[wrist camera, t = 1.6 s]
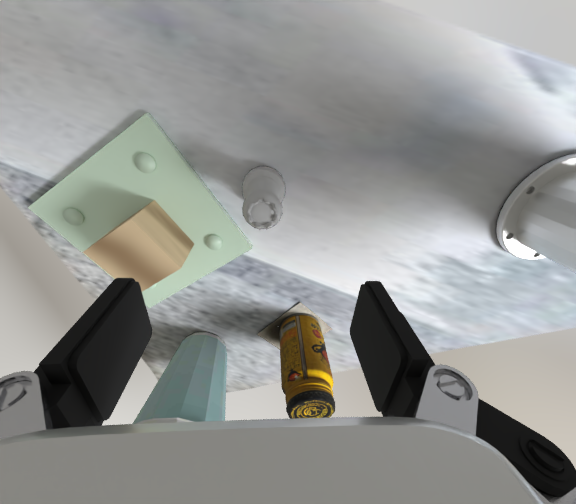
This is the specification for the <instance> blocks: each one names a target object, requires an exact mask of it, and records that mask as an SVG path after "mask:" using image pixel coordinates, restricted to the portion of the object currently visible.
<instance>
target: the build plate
mask: <svg viewBox="0 0 576 504" xmlns="http://www.w3.org/2000/svg"><path fill="white" fill-rule="evenodd" d="M154 200H155V201H156V202H157V203H158V204H159V205H160V207H161V208H162V209H163V210H164V211H165V212H166V213H167V214H168V215H169V216H170V217H171V219H172V220H173V221H174V222H175V223H176V224H177V225H178V226H179V227H180V228H181V229H182V231H183V232H184V233H185V234H186V235H187V236H188V237H189V238H190V239H191V240H192V241H193V243H194V246H193V248H192V249H191V251H190V253H189V255H188V257H187V259H186V260H185V262H184V264H183V266H182V268H181V269H179V270H177V271H176V272H174V273H172V274H171V275H169V276H167V277H166V278H164V279H162V280H161V281H159V282H157V283H156V284H154V285H152V286H151V287H149V288H147V289H146V290H144V291H143V292H142V294H143V298H144V302H145V305H146V306H147V307H148V308H151V307H152V306H154V305H156V304H157V303H159V302H161V301H163V300H164V299H166V298H168V297H169V296H171V295H173V294H175V293H176V292H178V291H180V290H182V289H183V288H185V287H187V286H188V285H190V284H192V283H194V282H195V281H197V280H199V279H201V278H202V277H204V276H206V275H207V274H209V273H211V272H213V271H214V270H216V269H218V268H219V267H221V266H223V265H225V264H226V263H228V262H230V261H232V260H233V259H235V258H237V257H238V256H240V255H242V254H244V253H245V252H247V251H249V250H251V249H252V244H251V243H250V242H249V240H248V239H247V238H246V237H245V235H244V234H243V233H242V231H241V230H240V229H239V228H238V226H237V225H236V224H235V222H234V221H233V220H232V219H231V217H230V216H229V215H228V213H227V212H226V211H225V210H224V208H223V207H222V206H221V205H220V203H219V202H218V201H217V199H216V198H215V197H214V196H213V194H212V193H211V192H210V190H209V189H208V188H207V187H206V185H205V184H204V183H203V182H202V180H201V179H200V178H199V176H198V175H197V174H196V173H195V171H194V170H193V169H192V167H191V166H190V165H189V164H188V162H187V161H186V160H185V158H184V157H183V156H182V155H181V153H180V152H179V151H178V150H177V148H176V147H175V146H174V144H173V143H172V142H171V141H170V139H169V138H168V137H167V135H166V134H165V133H164V132H163V130H162V129H161V128H160V126H159V125H158V124H157V123H156V121H155V120H154V119H153V118H152V116H151V115H150V114H149V113H146V114H144V115H143V116H142V117H141V118H139V119H138V120H137V121H135V122H134V123H133V124H132V125H130V126H129V127H128V128H127V129H125V130H124V131H123V132H122V133H120V134H119V135H118V136H117V137H115V138H114V139H113V140H112V141H110V142H109V143H108V144H107V145H105V146H104V147H103V148H102V149H100V150H99V151H98V152H97V153H95V154H94V155H93V156H92V157H90V158H89V159H88V160H87V161H85V162H84V163H83V164H82V165H80V166H79V167H78V168H77V169H75V170H74V171H73V172H72V173H70V174H69V175H68V176H67V177H65V178H64V179H63V180H62V181H60V182H59V183H58V184H57V185H55V186H54V187H53V188H52V189H50V190H49V191H48V192H47V193H45V194H44V195H43V196H42V197H40V198H39V199H38V200H37V201H35V202H34V203H33V204H32V205H30V206H29V207H28V209H30V210H31V211H32V212H33V213H35V214H36V215H37V216H38V217H39V218H41V219H42V220H43V221H44V222H45V223H47V224H48V225H49V226H50V227H51V228H53V229H54V230H55V231H56V232H57V233H59V234H60V235H61V236H62V237H64V238H65V239H66V240H67V241H68V242H70V243H71V244H72V245H73V246H74V247H76V248H77V249H78V250H79V251H80V252H82V253H83V252H84V251H85V250H86V249H88V248H89V247H90V246H91V245H93V244H94V243H95V242H97V241H98V240H99V239H100V238H102V237H103V236H104V235H106V234H107V233H108V232H109V231H111V230H112V229H113V228H115V227H116V226H118V225H119V224H121V223H122V222H123V221H125V220H126V219H128V218H129V217H131V216H132V215H133V214H135V213H136V212H138V211H139V210H141V209H142V208H144V207H145V206H146V205H148V204H149V203H151V202H152V201H154ZM83 254H84V253H83ZM84 255H85V254H84ZM85 256H86V257H88V256H87V255H85ZM88 258H89V257H88ZM89 259H90V258H89ZM90 260H91V259H90ZM91 261H93V260H91ZM93 262H94V261H93ZM94 263H95V262H94ZM95 264H96V263H95ZM96 265H97V264H96ZM97 266H99V265H97ZM99 267H100V266H99ZM100 268H101V267H100ZM101 269H102V268H101ZM102 270H103V269H102ZM103 271H105V270H103ZM105 272H106V271H105ZM106 273H107V272H106ZM107 274H108V273H107ZM108 275H109V276H111V275H110V274H108ZM111 277H112V276H111ZM112 278H113V277H112ZM113 279H114V278H113ZM114 280H115V279H114Z"/></svg>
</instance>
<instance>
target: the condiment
mask: <svg viewBox="0 0 576 504" xmlns="http://www.w3.org/2000/svg"><path fill="white" fill-rule="evenodd" d="M278 326H279V327H278ZM330 330H332V328H331V327H329V326H328V325H327V324H326V323H325V322H324V321H323V320H321V319H320V318H319V317H318V316H317V315H315V314H314V313H313V312H312V311H311V310H309V309H308V308H307V307H306V306H304V305H303V304H302V303H301V302H300V303H299V304H297V305H296V306H295V307H293V308H292V309H290V310H289V311H288V312H286V313H284V314H283V315H282V316H280V317H279V318H278V319H277V320H276V321H274V322H273V323H271V324H270V325H269V326H267V327H266V328H264V329H263V330H262V331H261V332H259V333H258V334H257V335H258V336H260V337H262V338H263V339H265V340H266V341H268V342H269V343H271V344H272V345H274V346H275V347H277V348H278V349H279V350H280V358H281V380H282V390H283V392H284V394H285V395H286V404H287V408H286V410H287V413H288V415H289V418H290V419H297V418H329V417H331V415H332V414H333V413H334V412H335V402H334V399H333V391H332V387H333V379H332V373H331V369H330V365H329V361H328V357H327V352H326V347H325V342H324V338H323V334H325V333H326V332H328V331H330Z"/></svg>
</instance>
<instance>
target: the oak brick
mask: <svg viewBox="0 0 576 504" xmlns="http://www.w3.org/2000/svg"><path fill="white" fill-rule="evenodd" d="M193 246H194V243H193V241H192V240H191V239H190V238H189V237H188V236H187V235H186V234H185V233H184V232H183V231H182V229H181V228H180V227H179V226H178V225H177V224H176V223H175V222H174V221H173V220H172V219H171V217H170V216H169V215H168V214H167V213H166V212H165V211H164V210H163V209H162V208H161V207H160V205H159V204H158V203H157V202H156V201H155V200H154V201H152V202H151V203H149V204H148V205H146V206H145V207H144V208H142V209H141V210H139V211H138V212H136V213H135V214H133V215H132V216H131V217H129V218H128V219H126V220H125V221H123V222H122V223H121V224H119V225H118V226H116V227H115V228H113V229H112V230H111V231H109V232H108V233H107V234H106V235H104V236H103V237H102V238H100V239H99V240H98V241H97V242H95V243H94V244H93V245H91V246H90V247H89V248H88V249H86V250H85V251H84V252H83V253H84V254H85V255H87V256H88V257H89V258H90V259H91V260H93V261H94V262H95V263H96V264H97V265H99V266H100V267H101V268H102V269H103V270H105V271H106V272H107V273H108V274H110V275H111V276H112V277H113V278H114V279H116V278H134V280H135V282H139V284H140V287H141V291H142V292H143V291H144V290H146V289H147V288H149V287H151V286H152V285H154V284H156V283H157V282H159V281H161V280H162V279H164V278H166V277H167V276H169V275H171V274H172V273H174V272H176V271H177V270H179V269H181V268H182V266H183V264H184V262H185V260H186V259H187V257H188V255H189V253H190V251H191V249H192V248H193Z"/></svg>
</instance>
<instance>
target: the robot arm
mask: <svg viewBox="0 0 576 504" xmlns="http://www.w3.org/2000/svg"><path fill="white" fill-rule="evenodd" d="M496 232H497V239H498V241H499V243H500V245H501V246H502V247H503V248H504V250H506V251H507V252H509V253H510V254H512V255H514V256H516V257H518V258H523V259H541V258H548V259H550V260H552V261H554V262H555V263H557V264H559V265H561V266H563V267H565V268H566V269H568V270H570V271H572V272H574V273H576V154H570V155H566V156H563V157H560V158H557V159H555V160H553V161H551V162H549V163H547V164H545V165H543V166H542V167H540V168H539V169H537V170H536V171H534V172H533V173H531V174H530V175H529V176H528V177H527V178H526V179H524V180H523V181H522V182H521V183H520V184H519V185H518V186H517V187H516V189H515V190H514V191H513V192H512V193H511V195H510V196H509V198H508V199H507V200H506V202H505V204H504V206H503V208H502V210H501V212H500V215H499V218H498V221H497V228H496ZM151 335H152V327H151V324H150V320H149V316H148V313H147V309H146V305H145V302H144V298H143V294H142V291H141V287H140V284H139V282H135V280H134V278H116V279H115V280H114V281H113V282H112V283H111V284H110V285H109V286H108V287H107V289H106V290H105V291H104V292H103V293H102V294H101V295H100V296H99V297H98V299H97V300H96V301H95V302H94V303H93V304H92V305H91V306H90V308H89V309H88V310H87V311H86V312H85V313H84V314H83V316H81V318H80V319H79V320H78V321H77V322H76V323H75V324H74V325H73V327H72V328H71V329H70V330H69V331H68V332H67V333H66V334H65V336H64V337H63V338H62V339H61V340H60V341H59V342H58V344H57V345H56V346H55V347H54V348H53V349H52V350H51V351H50V352H49V353H48V355H47V356H46V357H45V358H44V359H43V360H42V361H41V362H40V363H39V365H40V366H39V367H38V368H37V369H36V370H35V371H34V372H30V371H21V372H16V373H12V374H9V375H7V376H4V377H2V378H0V504H576V470H575V468H574V466H573V464H572V463H571V461H570V460H569V459H568V457H567V456H566V455H565V454H564V453H563V452H562V451H561V450H560V449H559V448H558V447H557V446H556V445H555V444H554V443H552V442H551V441H549V440H548V439H546V438H545V437H544V436H542V435H540V434H539V433H537V432H535V431H533V430H532V429H530V428H528V427H527V426H525V425H523V424H521V423H520V422H518V421H516V420H515V419H512V418H511V417H510V416H508V415H506V414H504V413H503V412H501V411H499V410H498V409H496V408H494V407H493V406H491V405H489V404H487V403H486V402H484V401H482V400H480V399H479V398H478V392H477V389H476V387H475V386H474V384H473V383H472V382H471V381H470V379H469V378H468V377H467V376H465V375H464V374H463V373H462V372H460V371H458V370H457V369H455V368H452V367H450V366H447V365H435V364H434V362H433V360H432V359H431V357H430V356H429V354H428V353H427V351H426V350H425V348H424V346H423V345H422V343H421V342H420V340H419V339H418V337H417V336H416V334H415V332H414V331H413V329H412V328H411V326H410V325H409V323H408V322H407V320H406V318H405V317H404V315H403V314H402V313H401V312H399V310H398V309H397V307H396V305H395V304H394V302H393V301H392V299H391V298H390V296H389V294H388V293H387V291H386V290H385V288H384V287H383V285H382V283H381V282H379V281H366V282H365V284H362V285H361V287H360V291H359V295H358V299H357V303H356V307H355V311H354V315H353V319H352V323H351V327H350V336H351V339H352V342H353V344H354V347H355V350H356V353H357V356H358V359H359V361H360V364H361V367H362V370H363V373H364V376H365V378H366V381H367V384H368V387H369V390H370V392H371V395H372V398H373V401H374V404H375V407H376V409H377V410H378V411H379V412H382V414H383V417H336V418H335V417H334V418H297V419H263V420H234V421H203V422H176V423H150V424H125V425H106V426H101V425H102V423H103V421H104V420H107V419H109V417H110V416H111V414H112V412H113V410H114V408H115V406H116V404H117V402H118V400H119V398H120V396H121V394H122V392H123V391H124V389H125V387H126V385H127V383H128V381H129V379H130V377H131V375H132V373H133V371H134V369H135V367H136V365H137V363H138V361H139V360H140V358H141V356H142V354H143V352H144V350H145V348H146V346H147V344H148V342H149V340H150V338H151Z"/></svg>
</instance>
